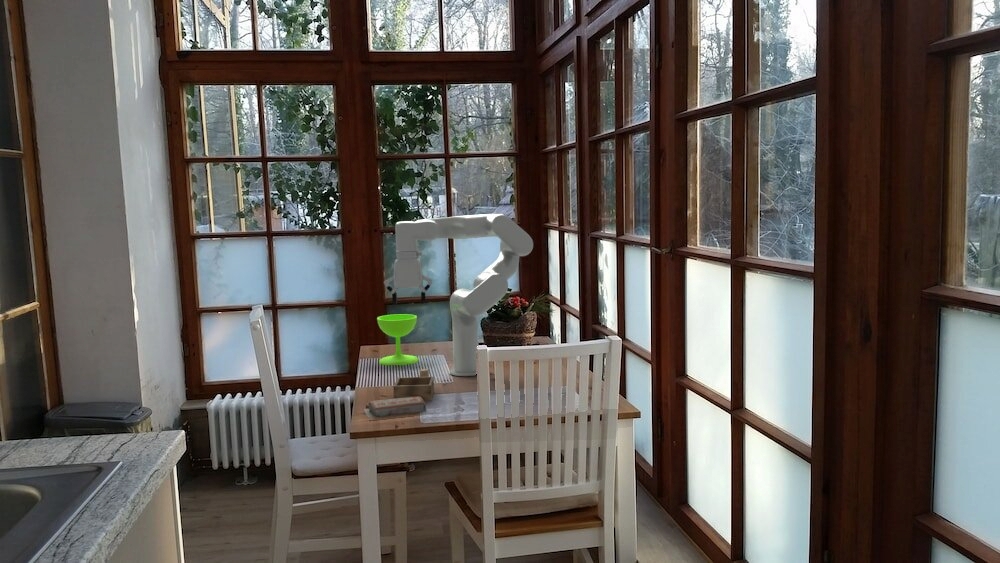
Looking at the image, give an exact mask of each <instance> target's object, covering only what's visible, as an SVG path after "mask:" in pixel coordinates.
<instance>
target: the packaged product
mask: <svg viewBox="0 0 1000 563" xmlns="http://www.w3.org/2000/svg"><path fill="white" fill-rule="evenodd" d="M426 409H427V406H426V402H424V401H423V399H422V398H421V397H420V396H417V397H406V398H396V399H394V398H389V399H379V400H378V399H377V400H371V401H369V402H368V408H364V409H363V412H364V413H365V415H366V416H367V418H369V419H371V420H368V422H375V421H376V422H377V421H382V420H383V421H384V420H387V418H381V419H376V418H378V417H389V418H388V420H394V419H396V417H391V418H390V416H396V415H397V416H398V415H404V414H412V413H421V412H425V411H426ZM410 417H413V415H410V416H409V415H408V418H410ZM373 418H374V419H373ZM403 418H405V416H400V417H398V419H403Z"/></svg>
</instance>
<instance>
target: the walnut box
mask: <svg viewBox="0 0 1000 563" xmlns="http://www.w3.org/2000/svg"><path fill="white" fill-rule="evenodd" d="M434 377H435V376H429V377H420V376H406V377H405V376H403V377H402V376H401V377H397V379H396V380H395V381H394V385H393V399H396V398H406V397H417V396H420V397H421V398H422V399H423V401H424V402H425V403H426V402H432V401H433V398H434V394H435V380H434V379H435V378H434Z"/></svg>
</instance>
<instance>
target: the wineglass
mask: <svg viewBox="0 0 1000 563" xmlns="http://www.w3.org/2000/svg"><path fill="white" fill-rule="evenodd" d="M417 319H418V316H417V315H416V314H415V315H414V314H408V313H406V314H405V313H404V314H403V313H402V314H387V315H386V314H385V315H381V316H377V318H376V321H377V325H378V327H379V329H380V330H381V331H382V332H383V333H385V335H387V336H390V337H392V338H395V353H394V355H388V356H385V357H382V358H380V359H379V361H378V363H379V364H380V365H382V364H383V365H384V366H389V365H399V366H408V365H413V364H416V363H418V362H419V361H418V360H419V358H418V357H417V356H415V355H410V354H403V353H402V350H401V344H402V343H401V338H402V337H405V336H407V335H408V334H409V333H411V332H412V331H413V330H414V329H415V326H416V324H417ZM417 361H418V362H417ZM412 363H413V364H412ZM407 364H408V365H407Z"/></svg>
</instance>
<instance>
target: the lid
mask: <svg viewBox="0 0 1000 563" xmlns="http://www.w3.org/2000/svg"><path fill="white" fill-rule="evenodd" d="M419 377H430V369H427V368H422V369H419Z"/></svg>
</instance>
